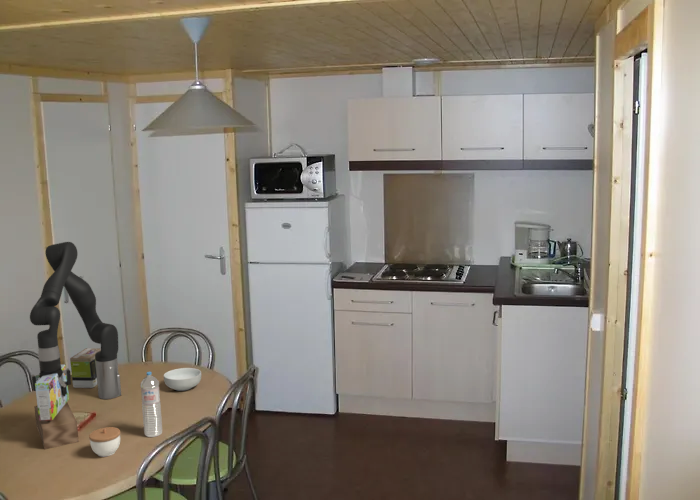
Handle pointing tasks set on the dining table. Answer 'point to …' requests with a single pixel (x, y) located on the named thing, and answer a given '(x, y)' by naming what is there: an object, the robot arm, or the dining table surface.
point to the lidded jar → (105, 441)
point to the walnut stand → (58, 428)
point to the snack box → (50, 395)
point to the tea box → (84, 368)
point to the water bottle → (151, 406)
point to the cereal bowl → (182, 378)
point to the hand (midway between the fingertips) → (53, 397)
